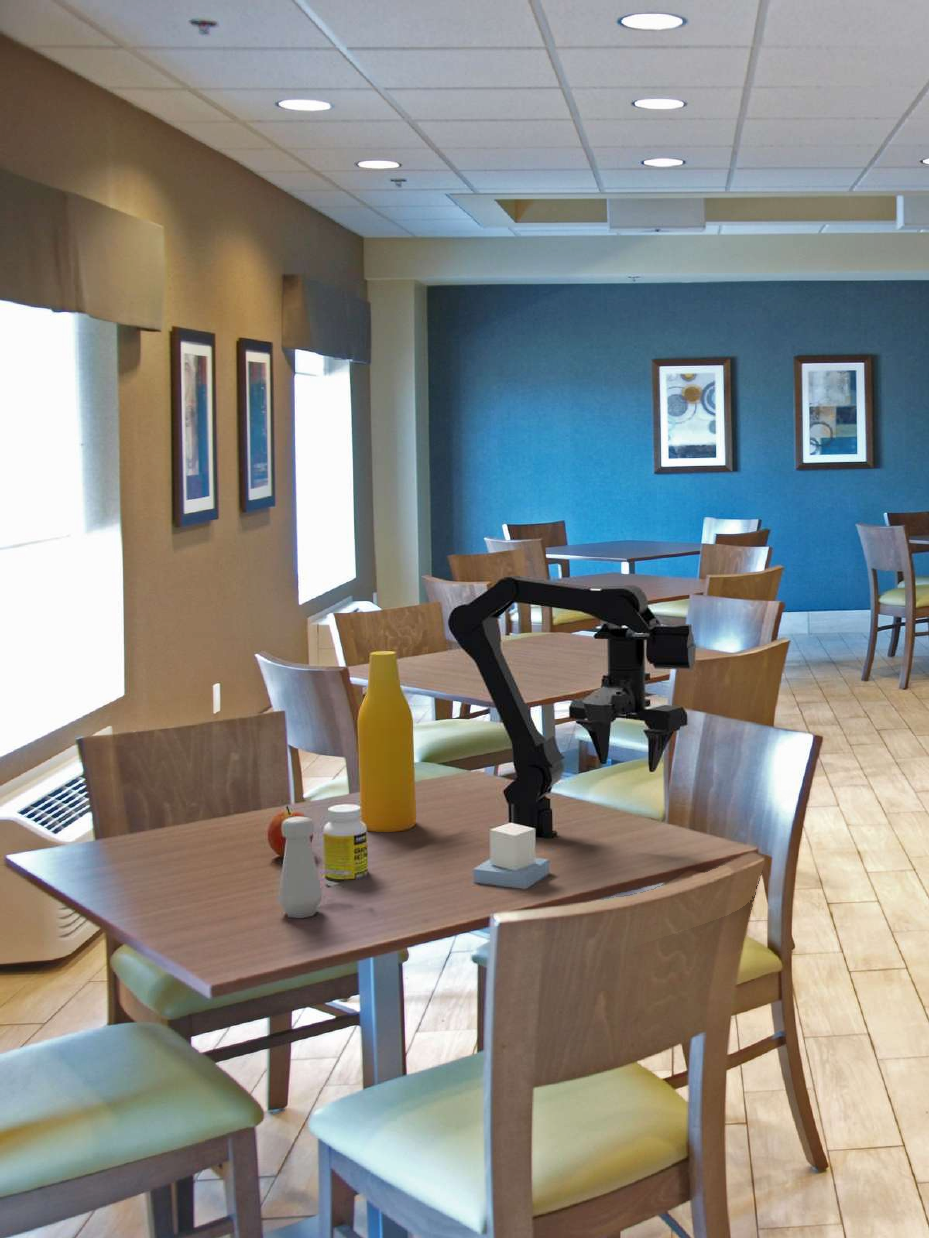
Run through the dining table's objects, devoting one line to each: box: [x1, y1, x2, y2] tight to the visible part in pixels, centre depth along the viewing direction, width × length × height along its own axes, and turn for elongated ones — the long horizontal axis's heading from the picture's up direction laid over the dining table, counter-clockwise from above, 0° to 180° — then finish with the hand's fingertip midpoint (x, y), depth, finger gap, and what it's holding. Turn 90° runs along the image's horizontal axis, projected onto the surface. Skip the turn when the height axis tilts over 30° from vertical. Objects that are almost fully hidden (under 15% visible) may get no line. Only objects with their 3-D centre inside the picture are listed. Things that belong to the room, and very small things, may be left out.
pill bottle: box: [323, 803, 369, 887], centre depth 197 cm, size 6×6×11 cm
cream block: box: [489, 822, 536, 871], centre depth 192 cm, size 4×4×5 cm
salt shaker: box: [278, 816, 323, 919], centre depth 184 cm, size 6×6×13 cm
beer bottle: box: [357, 650, 417, 833], centre depth 227 cm, size 9×9×29 cm
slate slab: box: [472, 857, 550, 890], centre depth 193 cm, size 8×8×2 cm
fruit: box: [267, 805, 314, 858], centre depth 211 cm, size 7×7×8 cm
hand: (627, 767), depth 212 cm, fingers open, 9 cm apart
